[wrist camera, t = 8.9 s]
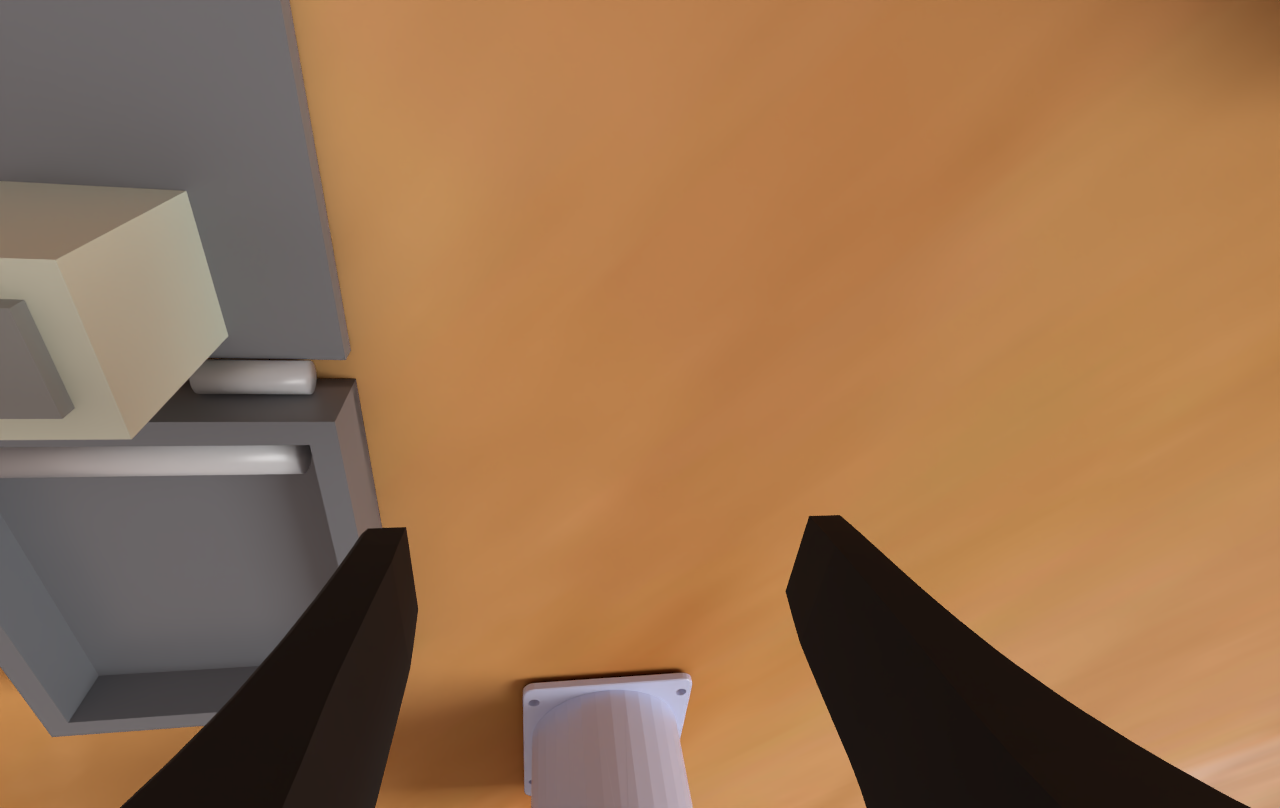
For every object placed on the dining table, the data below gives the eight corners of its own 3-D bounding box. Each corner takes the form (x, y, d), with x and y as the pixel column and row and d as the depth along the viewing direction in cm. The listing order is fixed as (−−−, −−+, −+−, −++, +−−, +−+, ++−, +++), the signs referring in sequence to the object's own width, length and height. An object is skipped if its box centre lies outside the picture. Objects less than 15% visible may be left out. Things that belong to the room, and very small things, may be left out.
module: (228, 336, 18) (121, 450, 13) (67, 333, 17) (-104, 452, 12) (186, 190, 15) (41, 268, 11) (0, 180, 15) (-236, 258, 10)
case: (405, 659, 27) (394, 711, 25) (91, 678, 25) (52, 737, 23) (355, 379, 19) (334, 421, 17) (-97, 374, 17) (-180, 422, 15)
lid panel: (355, 379, 19) (345, 400, 18) (-97, 374, 17) (-139, 399, 16) (279, -56, 14) (256, -61, 13) (-413, -135, 12) (-511, -149, 11)
